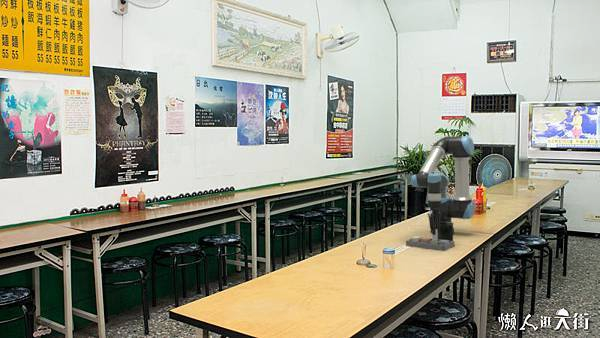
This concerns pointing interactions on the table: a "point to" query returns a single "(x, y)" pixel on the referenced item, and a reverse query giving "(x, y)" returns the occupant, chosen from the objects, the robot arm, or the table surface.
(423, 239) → the block
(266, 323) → the table surface
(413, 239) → the key ivory
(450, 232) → the mug
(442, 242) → the key slate
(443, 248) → the grey compartment rack
